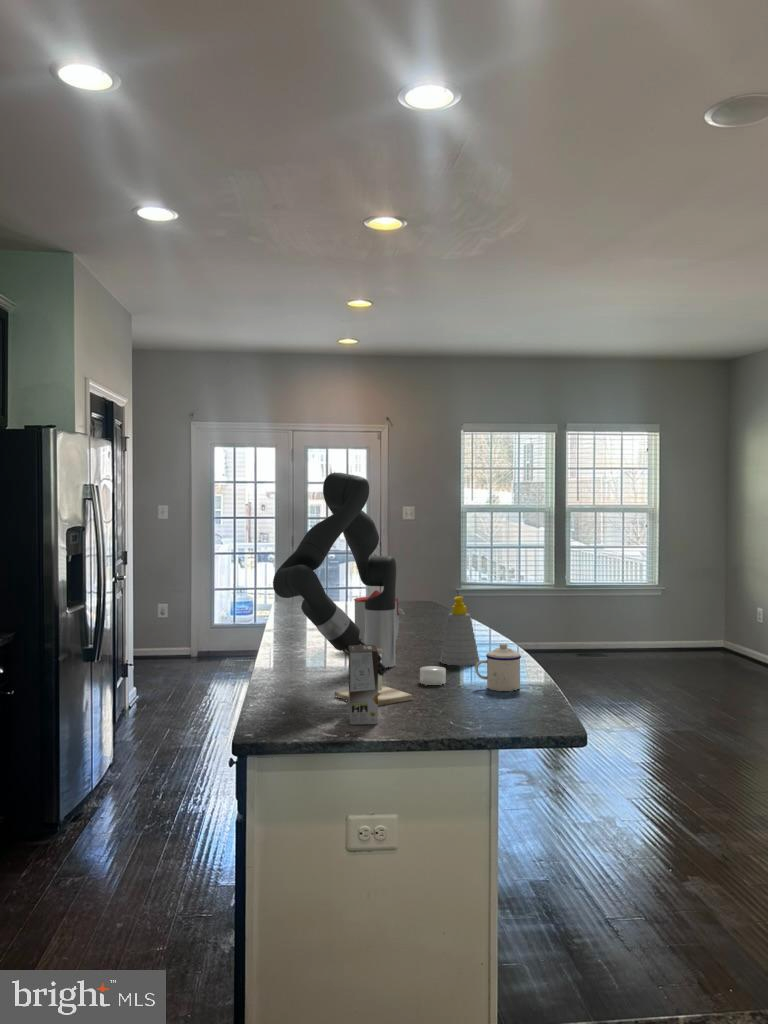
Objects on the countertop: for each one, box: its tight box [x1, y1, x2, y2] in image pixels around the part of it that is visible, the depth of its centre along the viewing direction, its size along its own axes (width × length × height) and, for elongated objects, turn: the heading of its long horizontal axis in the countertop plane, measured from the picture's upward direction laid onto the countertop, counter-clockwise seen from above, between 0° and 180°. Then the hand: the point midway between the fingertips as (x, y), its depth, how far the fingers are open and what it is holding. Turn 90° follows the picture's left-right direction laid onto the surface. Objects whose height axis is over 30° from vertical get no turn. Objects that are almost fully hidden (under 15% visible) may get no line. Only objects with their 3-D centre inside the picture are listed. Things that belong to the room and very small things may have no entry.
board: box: [334, 685, 414, 707], centre depth 193 cm, size 14×14×1 cm
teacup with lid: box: [474, 643, 522, 692], centre depth 204 cm, size 12×9×12 cm
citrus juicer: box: [353, 589, 405, 644], centre depth 265 cm, size 16×17×20 cm
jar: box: [377, 648, 383, 691], centre depth 193 cm, size 5×5×10 cm
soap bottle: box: [439, 596, 481, 667], centre depth 239 cm, size 12×12×20 cm
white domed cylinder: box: [419, 665, 447, 686], centre depth 210 cm, size 7×7×4 cm
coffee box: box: [348, 645, 379, 726], centre depth 173 cm, size 9×6×16 cm
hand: (377, 670), depth 194 cm, fingers open, 4 cm apart
